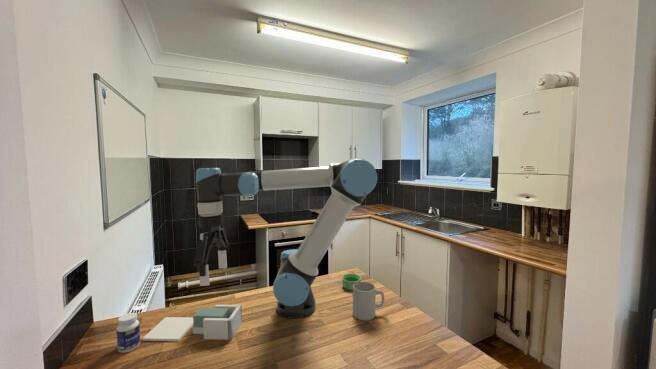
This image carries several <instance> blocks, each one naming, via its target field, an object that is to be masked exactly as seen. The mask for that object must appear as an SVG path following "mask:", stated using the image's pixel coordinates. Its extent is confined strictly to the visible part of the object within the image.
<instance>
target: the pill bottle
mask: <svg viewBox="0 0 656 369" xmlns="http://www.w3.org/2000/svg"><path fill="white" fill-rule="evenodd" d="M117 324H118V325H117V326H116V343H117V344H116V345H117V351H118V353H124V354H125V353H128V352H132V351H134V350H135V349H137V348H138V347H139V346H140V344H141V332H140V331H141V330H140V329H141V326H140V321H139V320H138V314H137V313H136V312H129V313H126V314H125V313H124V314H122V315H120V316H119V318H118V319H117Z"/></svg>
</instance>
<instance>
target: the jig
mask: <svg viewBox="0 0 656 369" xmlns="http://www.w3.org/2000/svg"><path fill="white" fill-rule="evenodd" d="M214 308H229V318H204V320H203V328H202V327H194V325H193V326H192V335H203V340H226V341H228V340H230V341H231V340H233V339H234V336H235V335H236V334H237V332H238V329H239V328H240V327H241V325H242V323H243V313H242V312H243V311H242V304H215V305H214Z"/></svg>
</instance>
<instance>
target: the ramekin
mask: <svg viewBox="0 0 656 369" xmlns="http://www.w3.org/2000/svg"><path fill="white" fill-rule="evenodd" d="M341 280H342V287H343V288H344V289H345V290H348V291H353V285H354V284H355V283H357V282H362V281H361V280H362V277H361V276H360V275H359V274H356V273H346V274H343V275H342V276H341Z"/></svg>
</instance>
